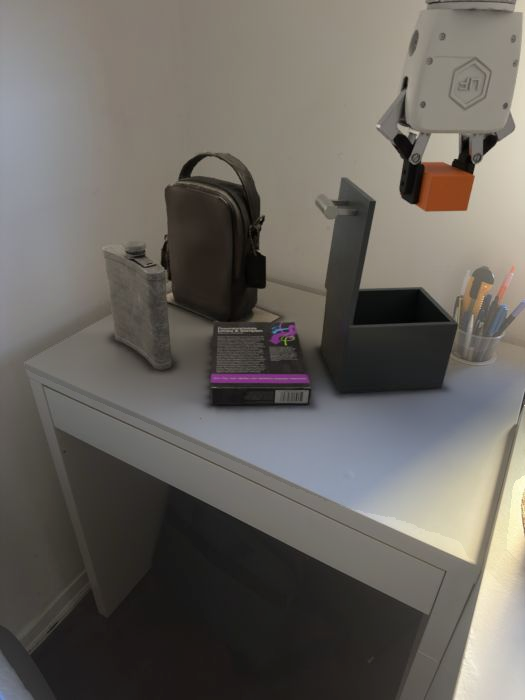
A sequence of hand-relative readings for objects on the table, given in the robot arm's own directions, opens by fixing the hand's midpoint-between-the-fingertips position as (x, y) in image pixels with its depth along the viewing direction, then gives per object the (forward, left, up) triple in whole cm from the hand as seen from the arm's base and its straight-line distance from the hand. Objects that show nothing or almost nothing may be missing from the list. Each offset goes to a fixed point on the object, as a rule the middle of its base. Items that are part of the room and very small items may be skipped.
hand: (432, 198), depth 54 cm
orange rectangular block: (0, 0, 0) cm, 0 cm away
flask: (+34, -20, -29) cm, 49 cm away
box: (+17, -13, -29) cm, 36 cm away
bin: (-2, -11, -29) cm, 31 cm away
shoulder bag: (+22, -34, -29) cm, 50 cm away
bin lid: (+5, -11, -10) cm, 16 cm away
